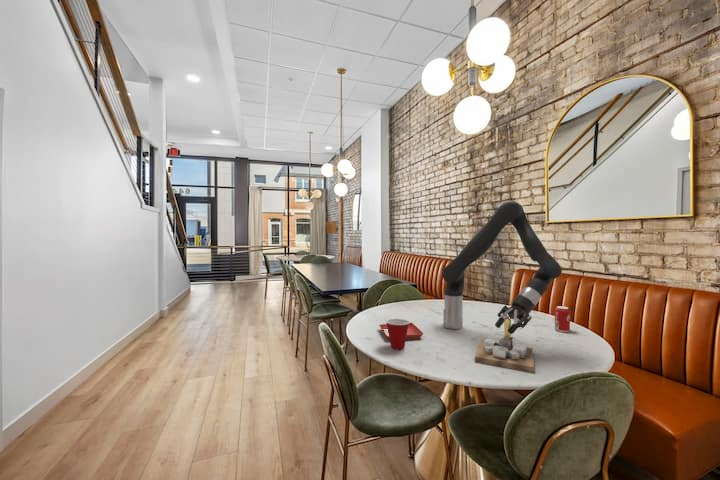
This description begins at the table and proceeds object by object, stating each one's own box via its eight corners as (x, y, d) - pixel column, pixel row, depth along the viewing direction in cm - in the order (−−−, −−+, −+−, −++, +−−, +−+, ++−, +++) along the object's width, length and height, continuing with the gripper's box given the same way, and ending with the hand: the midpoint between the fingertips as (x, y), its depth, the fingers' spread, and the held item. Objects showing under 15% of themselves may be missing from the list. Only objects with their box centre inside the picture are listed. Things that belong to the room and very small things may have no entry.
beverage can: (572, 333, 147) (572, 309, 147) (558, 332, 149) (558, 308, 148) (566, 329, 154) (566, 306, 153) (552, 328, 155) (552, 305, 155)
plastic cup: (412, 344, 135) (411, 318, 135) (407, 353, 125) (407, 325, 125) (388, 341, 139) (388, 316, 138) (382, 350, 129) (382, 322, 128)
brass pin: (504, 348, 124) (504, 320, 123) (504, 346, 126) (504, 318, 126) (511, 349, 123) (511, 320, 123) (510, 347, 125) (510, 319, 125)
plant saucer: (386, 343, 138) (386, 335, 138) (378, 330, 156) (378, 324, 156) (424, 340, 141) (424, 333, 141) (412, 328, 159) (411, 322, 158)
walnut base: (474, 361, 117) (474, 345, 116) (481, 344, 134) (481, 329, 134) (533, 372, 107) (534, 354, 107) (532, 352, 125) (532, 337, 125)
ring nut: (520, 362, 110) (520, 352, 110) (479, 352, 120) (479, 342, 120) (529, 350, 121) (529, 340, 121) (491, 341, 131) (491, 332, 131)
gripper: (509, 291, 133) (486, 319, 131) (534, 297, 119) (509, 329, 117) (519, 302, 135) (496, 329, 132) (545, 310, 121) (521, 341, 118)
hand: (502, 329), depth 125 cm, fingers open, 7 cm apart
